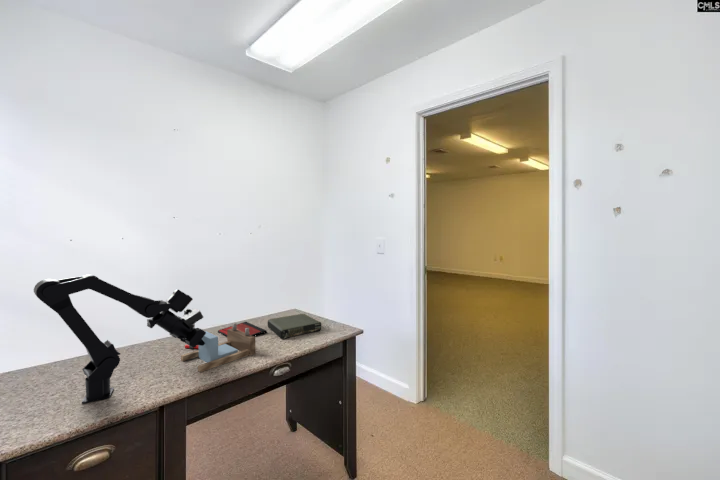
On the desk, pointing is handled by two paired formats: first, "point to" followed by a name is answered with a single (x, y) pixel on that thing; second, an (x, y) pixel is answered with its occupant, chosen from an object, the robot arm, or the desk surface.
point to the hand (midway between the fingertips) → (203, 344)
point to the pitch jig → (235, 340)
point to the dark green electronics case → (293, 325)
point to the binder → (241, 327)
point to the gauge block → (214, 348)
